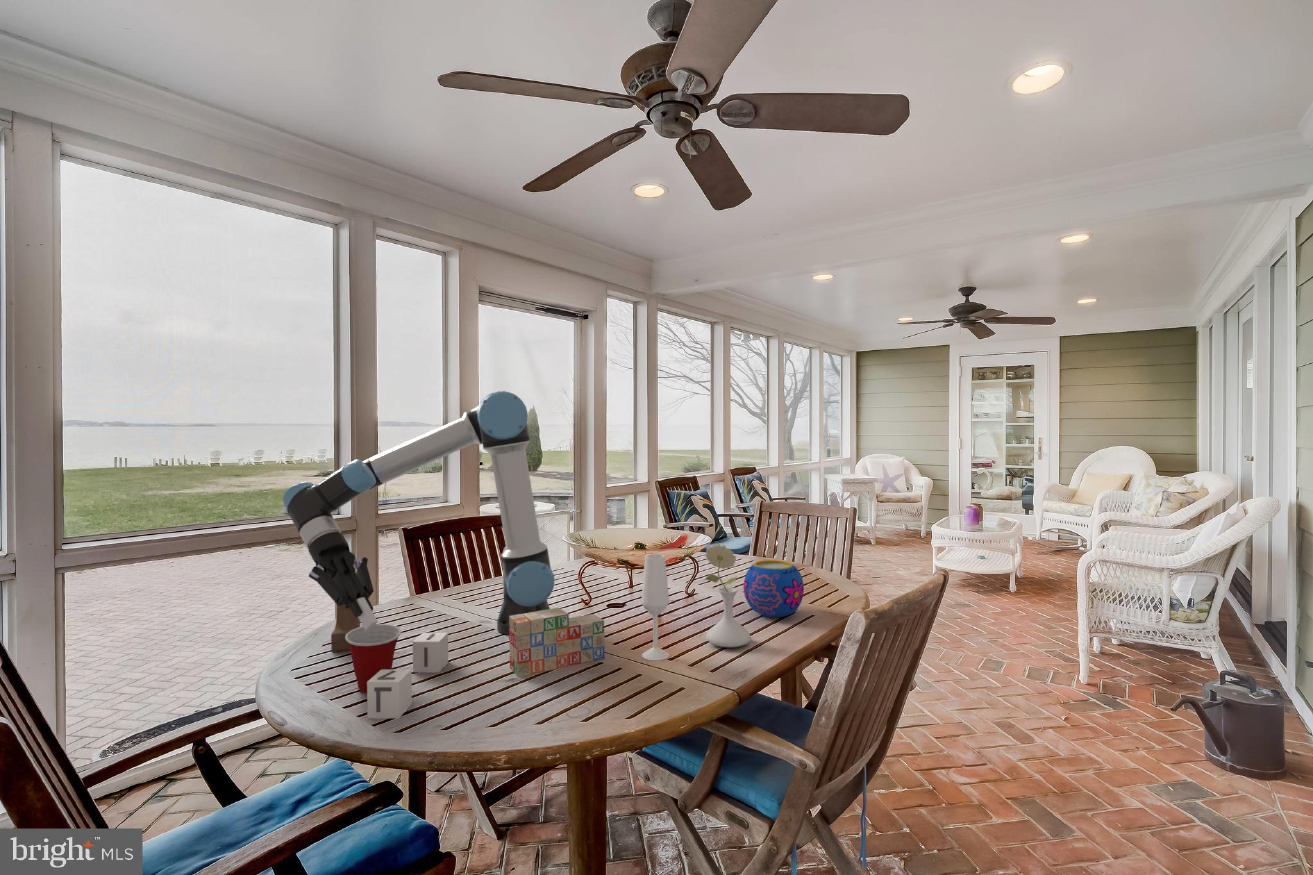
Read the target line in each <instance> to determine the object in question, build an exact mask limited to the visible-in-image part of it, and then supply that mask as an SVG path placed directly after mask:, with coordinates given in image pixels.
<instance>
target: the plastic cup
mask: <svg viewBox="0 0 1313 875" xmlns="http://www.w3.org/2000/svg"><path fill="white" fill-rule="evenodd" d="M401 634H402V629H401V628H400V627H399V626H396V625H393V624H388V623H387V624H386V623H385V624H384V623H378V624H377V623H376V625H375V626H374V627H373V629H371V630H367V631H365V629H364V627H363V625H362V626H360V627H358V628H356V629H353V630H351V631H350V632H348V633H347V634H346V637H345V640H346V641H347V642H348V645H349V648H350V650H349V652H350V656H351V660H352V666H353V672H354V676H355V679H356V683H357V688H358V690H359V692H360V693H364V694H367V682H368V681H369V680H370V679H371V678H372V677H373V676H375V675H376V674H377V673H378V672H379V671H380V670H392V669H393V663H394V658H395V657H394V656H395V653H396V652H395V651H396V646H397V642H398V640H399V637H400V636H401Z"/></svg>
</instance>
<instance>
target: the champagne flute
mask: <svg viewBox="0 0 1313 875" xmlns="http://www.w3.org/2000/svg"><path fill="white" fill-rule="evenodd" d="M666 565H667V564H666V556H665V554H659V553H655V554H654V553H652V554H650V553H649V554H647V555H645V556H644V566H643V579H642V590H641V591H642V592H641V605H642V606H643V608H644V609H645V610H646V611H647V612H648V613H649V614H650V615H652V647H651V648H649V649H648V650H646V651H645V652H642V655H641V657H642V658H643V659H645V660H649V661H662V660H666V659H668V658H669V657H670V653H669V652H668V651H665V650H664V649H662V648H661V647H659V624H658V623H659V615H661V614H662V613H663V612H664V611H665V610H666V609H667V608H668V605H669V604H670V597H669V596H670V595H669V587H668V576H667V566H666Z"/></svg>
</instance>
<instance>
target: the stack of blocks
mask: <svg viewBox="0 0 1313 875" xmlns="http://www.w3.org/2000/svg"><path fill="white" fill-rule="evenodd" d="M509 627H510V629H509V635H508V642H509V669H510V670H511V671H512V672H513V673H514V674H515V675H516V676H517V677H518V678H519V677H523V676H529V675H533V674H538V673H543V672H549V671H553V670H557V669H560V668H565V667H569V666H574V665H578V664H579V665H580V664H585V663H588V662H592V661H597V660H603V659H605V639H606V638H605V620H604V619H602V618H601V617H599V616H598V615H596V614H594V613H591V614H585V615H579V616H572V617H570V613H568V612H567V611H565V610H563V609H561V607H554V608H550V609H548V610H541V611H536V612H530V613H525V614H518V615H512V616H509Z"/></svg>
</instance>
